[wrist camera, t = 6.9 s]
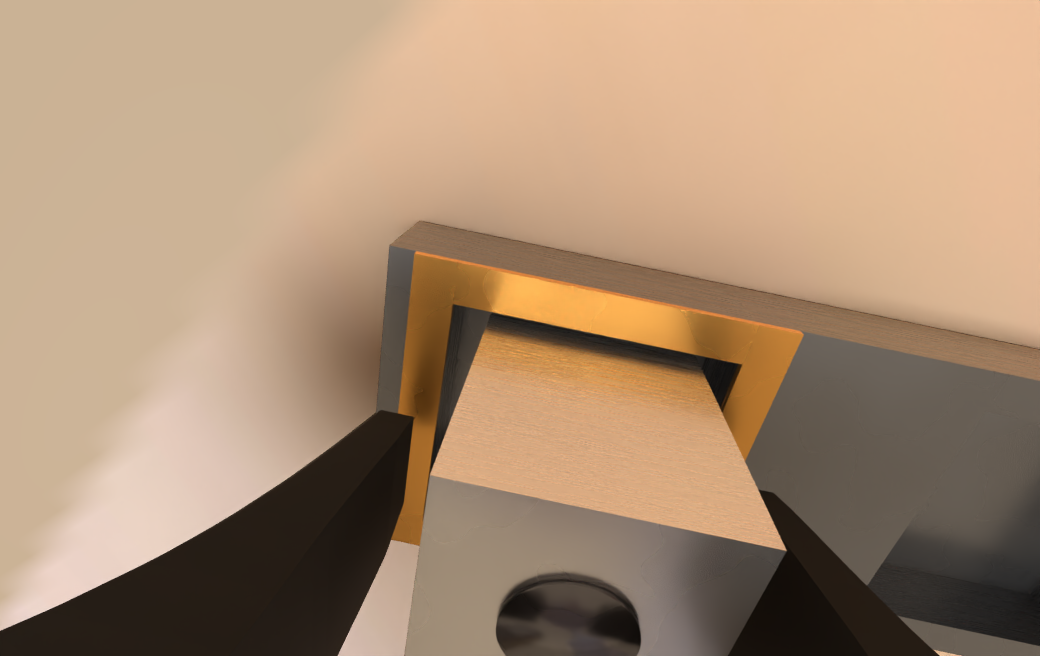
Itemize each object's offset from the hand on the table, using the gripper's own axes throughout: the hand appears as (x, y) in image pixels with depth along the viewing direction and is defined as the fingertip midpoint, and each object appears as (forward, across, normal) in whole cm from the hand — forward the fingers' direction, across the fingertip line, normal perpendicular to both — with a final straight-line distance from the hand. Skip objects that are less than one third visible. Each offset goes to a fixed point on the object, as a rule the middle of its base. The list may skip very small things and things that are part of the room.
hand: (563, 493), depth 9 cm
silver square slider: (+3, 0, 0) cm, 3 cm away
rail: (+3, -5, 0) cm, 6 cm away
